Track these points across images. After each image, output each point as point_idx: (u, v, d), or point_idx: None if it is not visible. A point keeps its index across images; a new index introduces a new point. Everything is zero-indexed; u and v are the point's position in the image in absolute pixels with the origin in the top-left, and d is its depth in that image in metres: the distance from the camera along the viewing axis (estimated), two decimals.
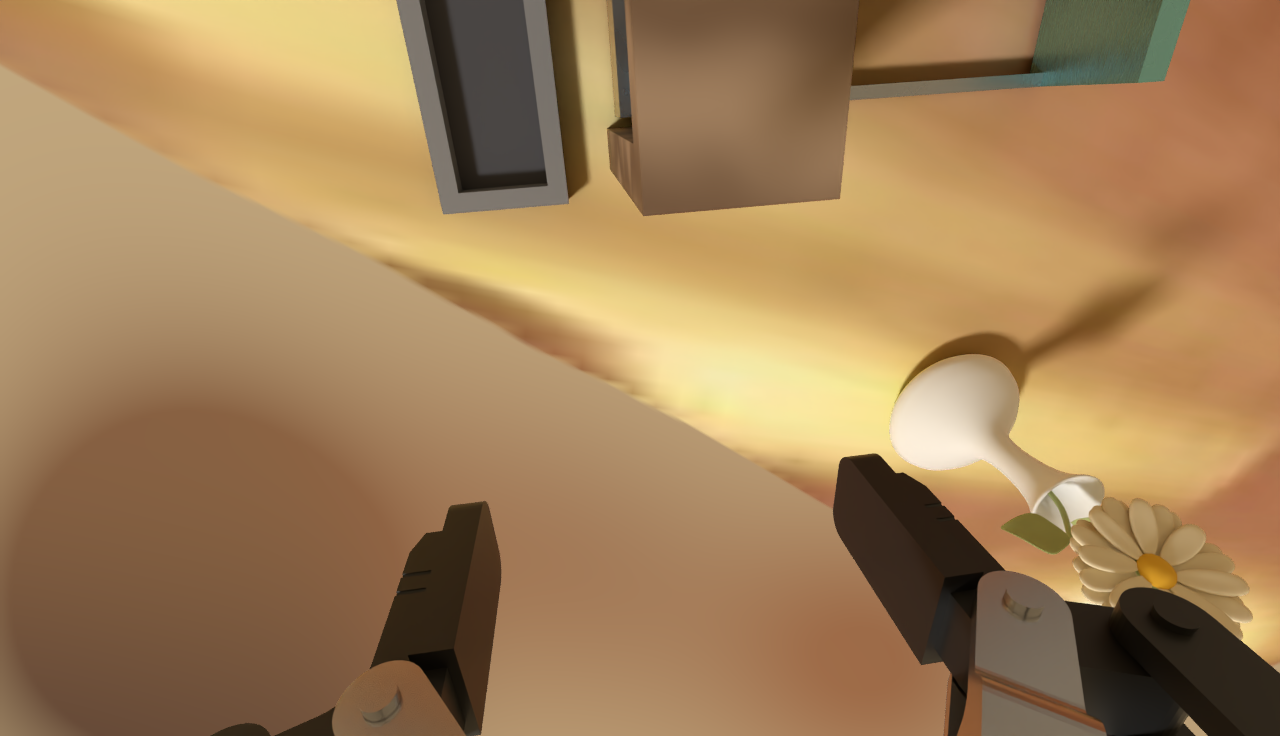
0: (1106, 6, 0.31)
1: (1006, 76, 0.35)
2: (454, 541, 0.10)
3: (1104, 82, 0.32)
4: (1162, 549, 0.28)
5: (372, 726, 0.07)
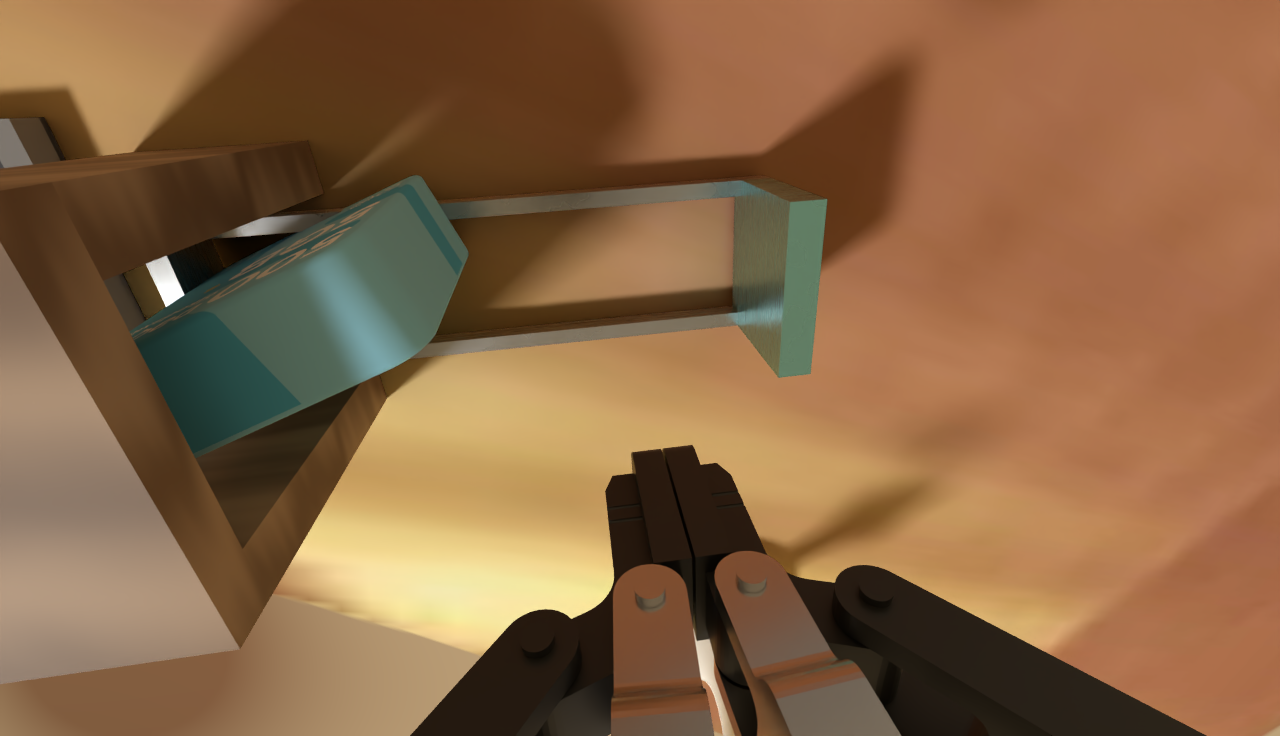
0: (759, 277, 0.27)
1: (694, 318, 0.32)
2: (650, 479, 0.12)
3: (764, 357, 0.28)
4: None
5: (653, 612, 0.08)
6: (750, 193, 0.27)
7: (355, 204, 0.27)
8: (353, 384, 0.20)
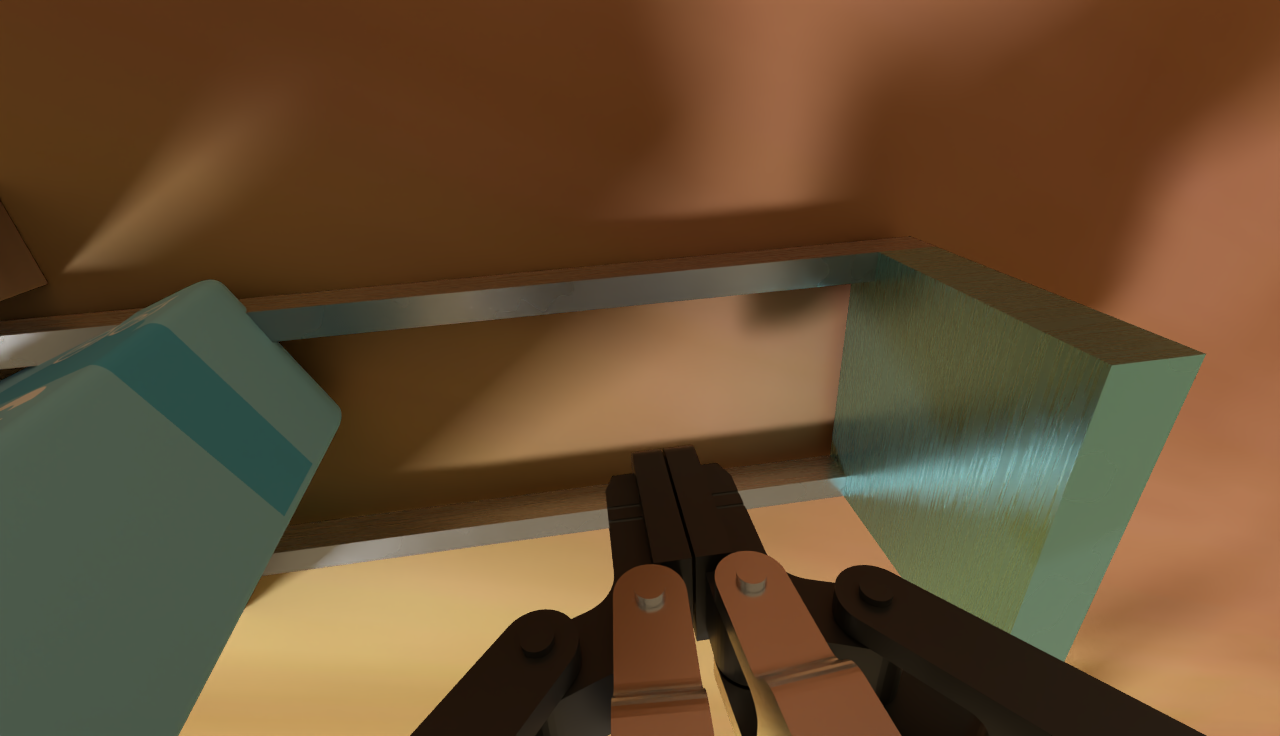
0: (928, 460, 0.13)
1: (768, 488, 0.17)
2: (650, 479, 0.12)
3: None
4: None
5: (653, 611, 0.08)
6: (909, 286, 0.13)
7: None
8: None
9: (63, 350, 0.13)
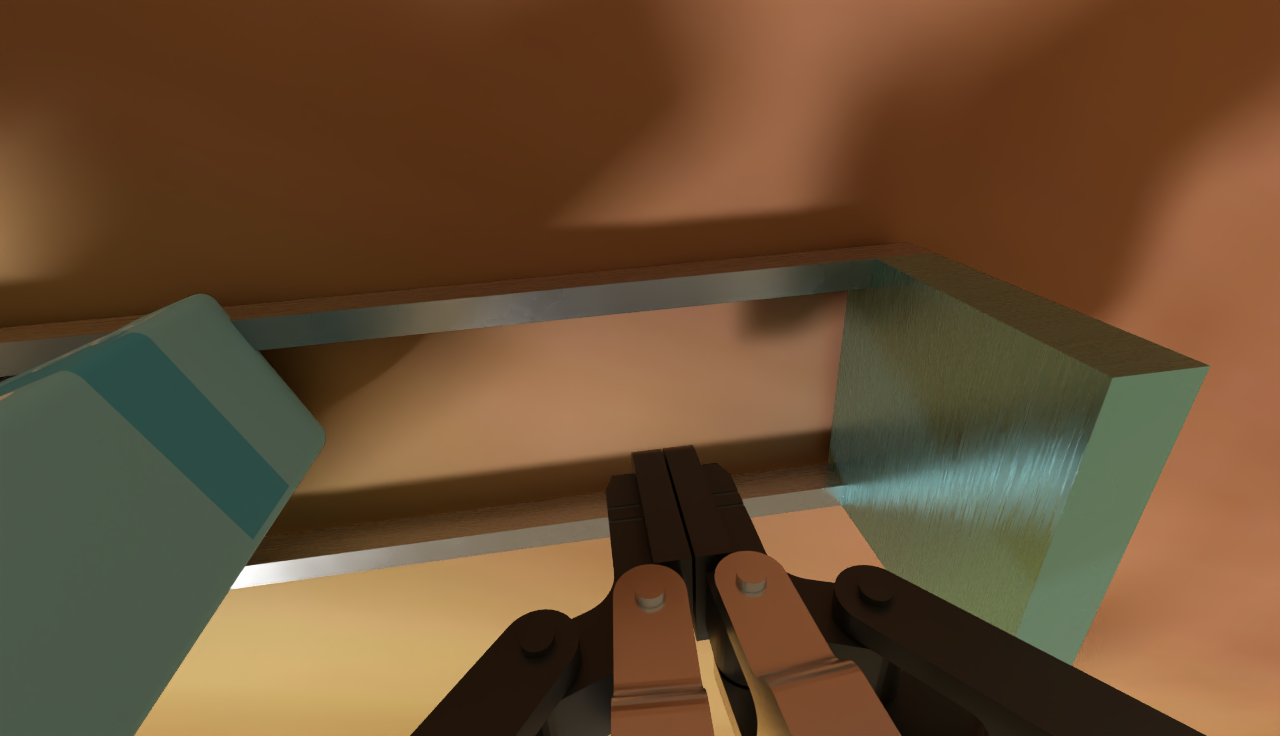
0: (926, 471, 0.13)
1: (765, 498, 0.17)
2: (650, 479, 0.12)
3: None
4: None
5: (654, 612, 0.08)
6: (906, 293, 0.13)
7: (66, 353, 0.12)
8: None
9: (46, 359, 0.13)
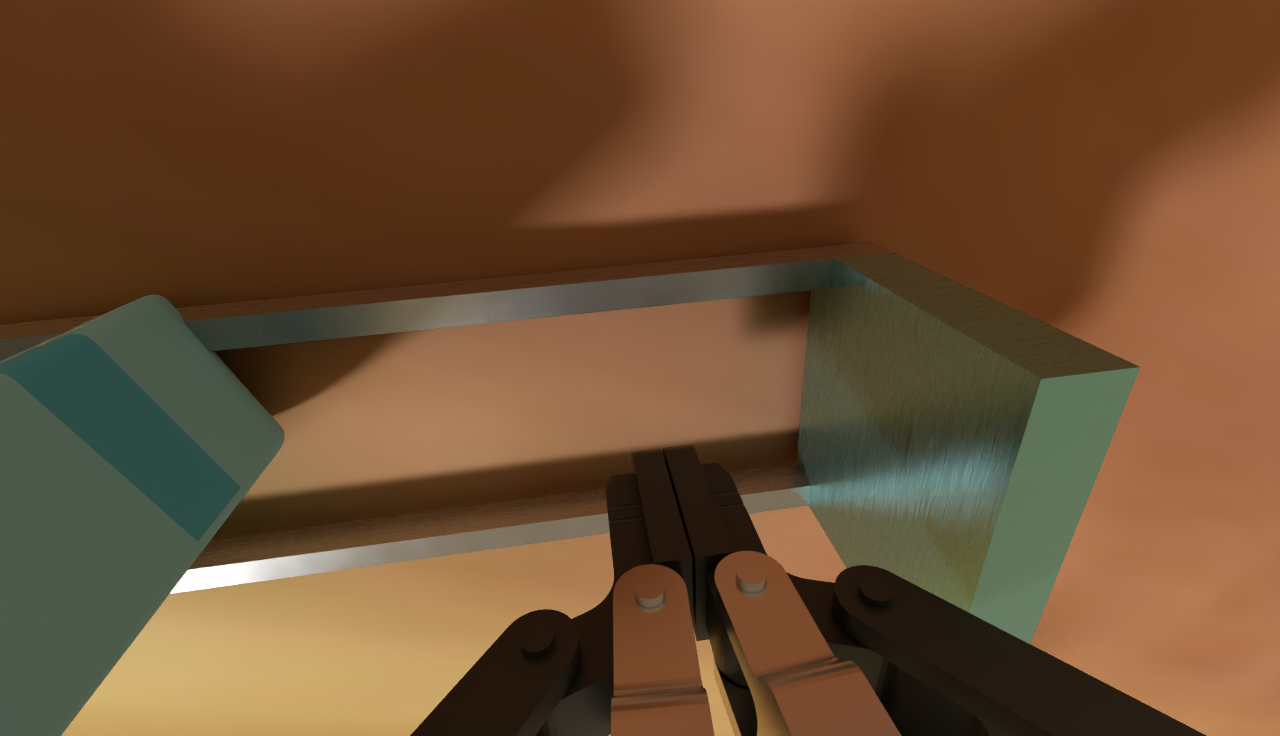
0: (881, 472, 0.13)
1: None
2: (650, 479, 0.12)
3: None
4: None
5: (653, 612, 0.08)
6: (861, 293, 0.13)
7: None
8: None
9: None
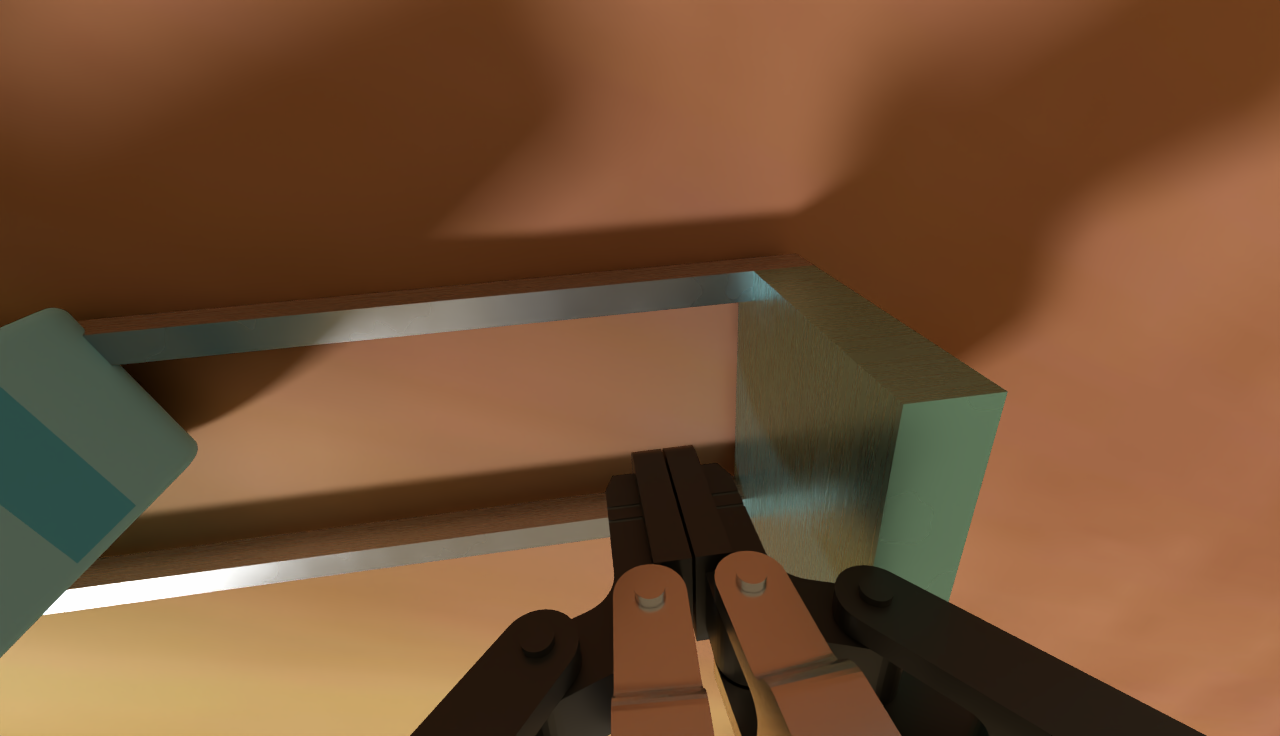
0: (793, 489, 0.13)
1: None
2: (650, 479, 0.12)
3: None
4: None
5: (653, 612, 0.08)
6: (773, 308, 0.13)
7: None
8: None
9: None
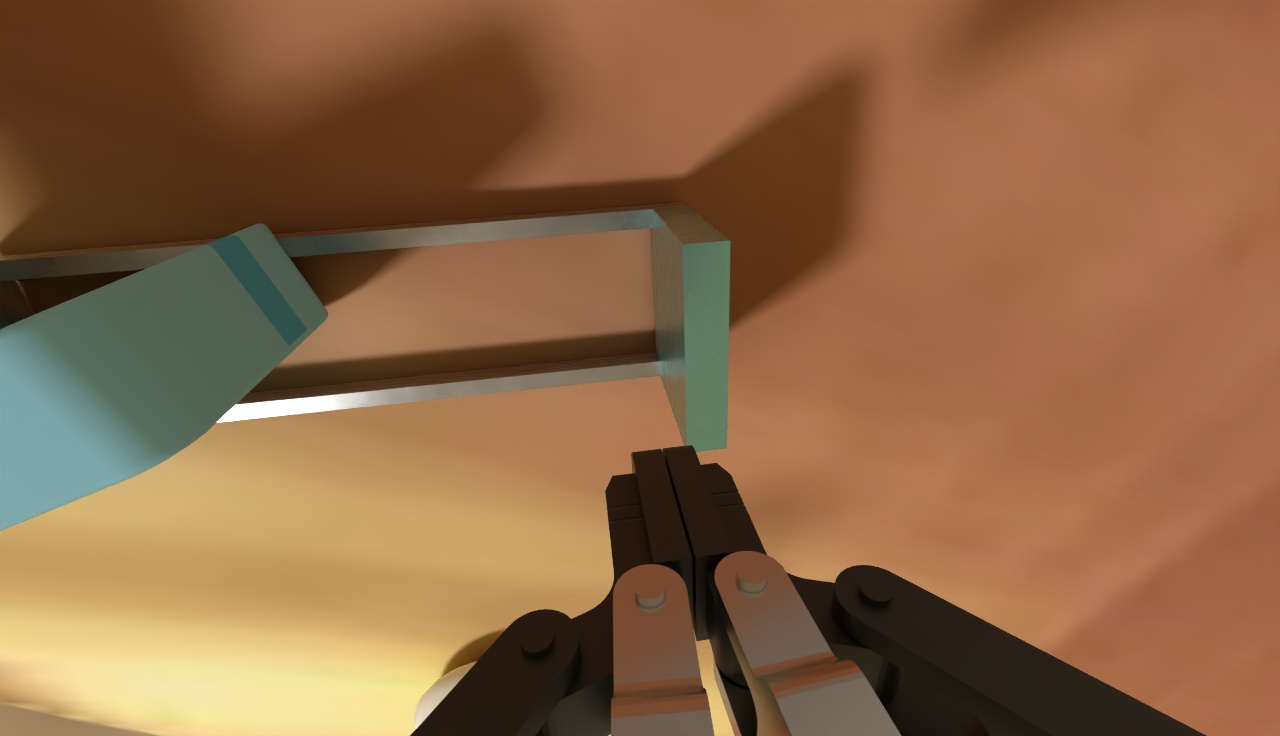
0: (669, 327, 0.22)
1: (607, 368, 0.27)
2: (650, 479, 0.12)
3: (677, 423, 0.23)
4: None
5: (654, 612, 0.08)
6: (658, 226, 0.23)
7: None
8: (74, 498, 0.15)
9: None
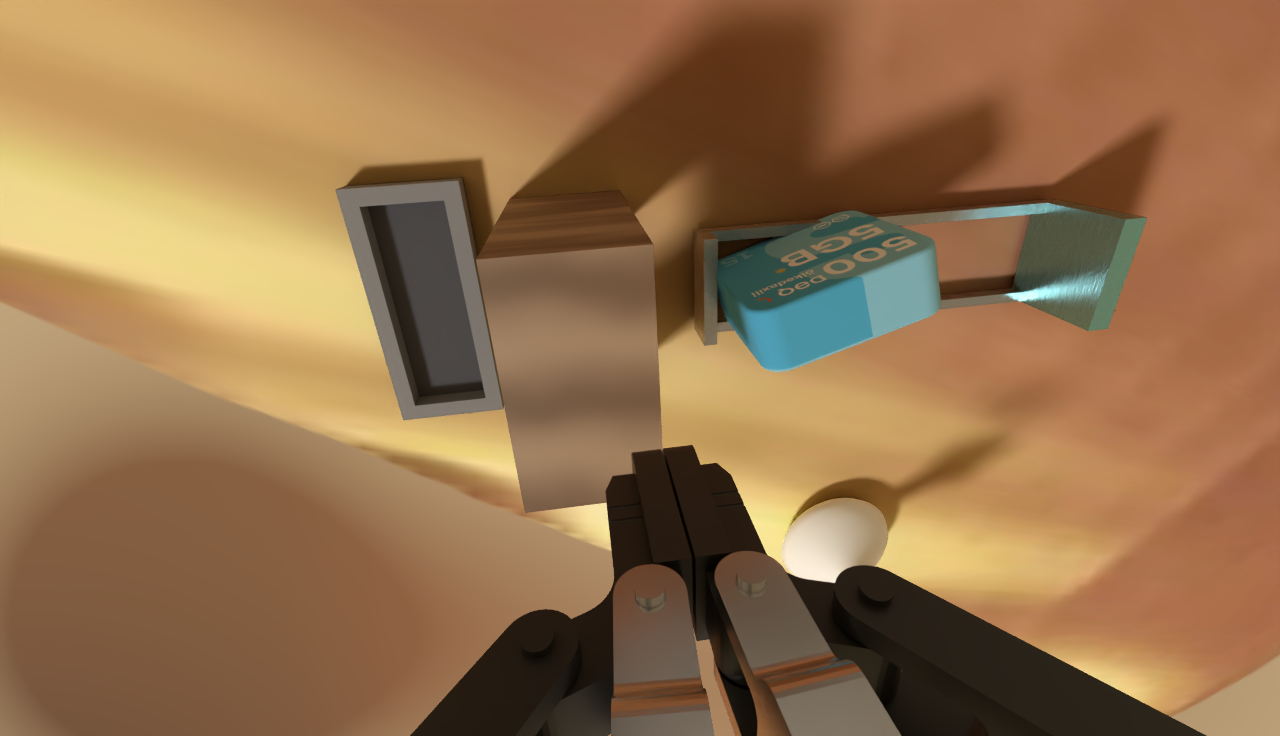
0: (1067, 266, 0.42)
1: (993, 295, 0.46)
2: (651, 479, 0.12)
3: (1065, 319, 0.42)
4: None
5: (654, 612, 0.08)
6: (1060, 212, 0.42)
7: (810, 227, 0.41)
8: None
9: None
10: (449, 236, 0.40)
